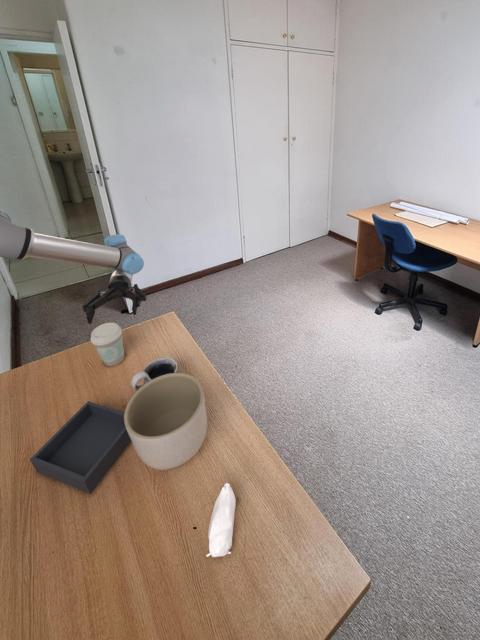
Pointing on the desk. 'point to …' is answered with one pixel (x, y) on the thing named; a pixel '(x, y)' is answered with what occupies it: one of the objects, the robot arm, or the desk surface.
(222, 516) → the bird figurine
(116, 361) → the coffee cup
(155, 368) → the mug
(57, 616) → the desk surface
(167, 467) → the planter
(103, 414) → the bin
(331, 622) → the desk surface
